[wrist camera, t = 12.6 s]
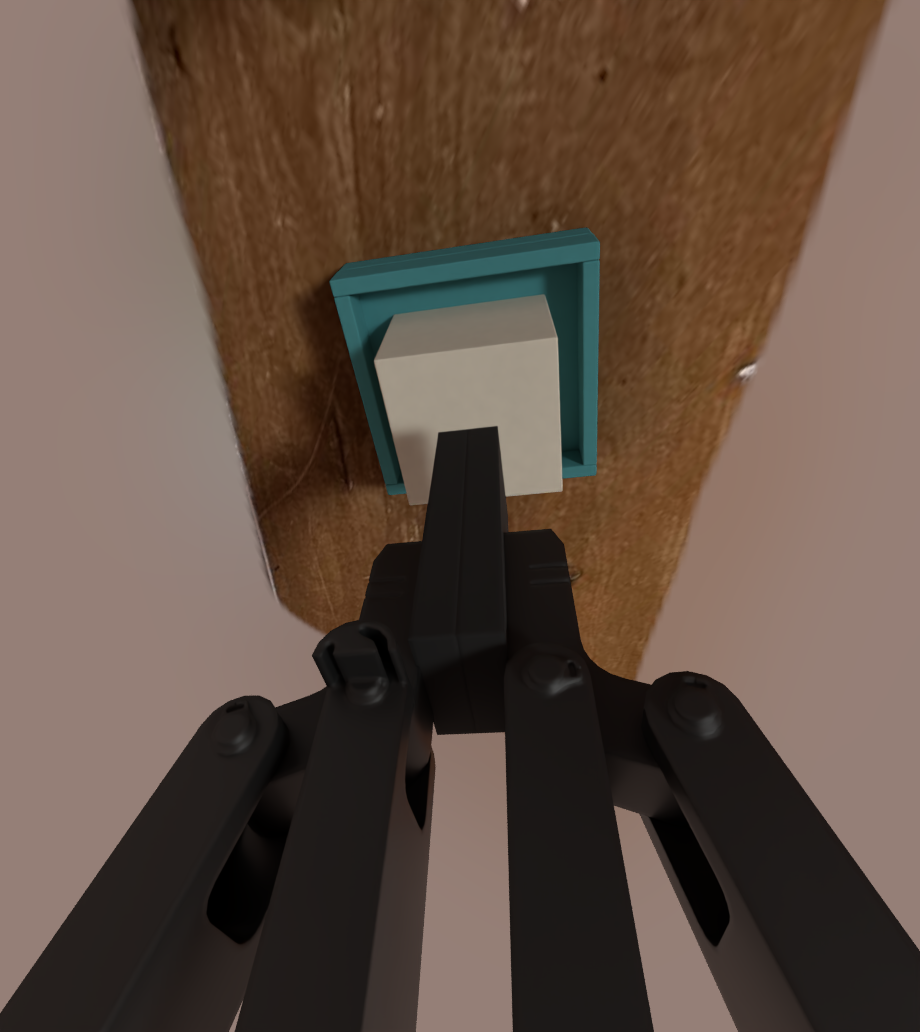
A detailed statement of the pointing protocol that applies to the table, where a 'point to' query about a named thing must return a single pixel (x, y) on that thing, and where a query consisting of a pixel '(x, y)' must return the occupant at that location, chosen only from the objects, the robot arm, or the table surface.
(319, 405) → the table surface
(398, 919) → the robot arm
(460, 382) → the light gray cube
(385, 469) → the shallow tray
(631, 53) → the table surface
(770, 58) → the table surface
